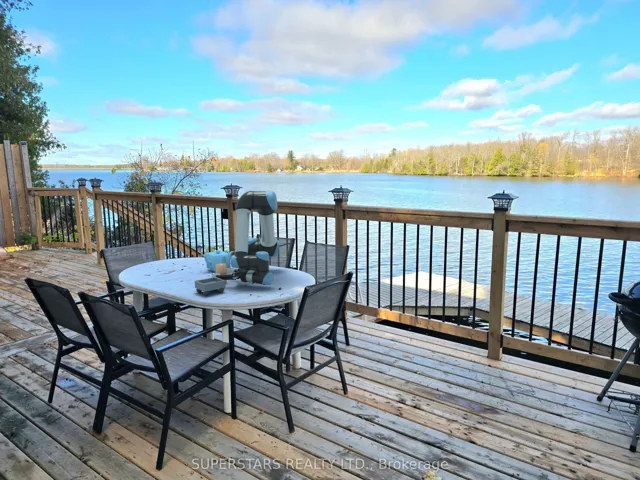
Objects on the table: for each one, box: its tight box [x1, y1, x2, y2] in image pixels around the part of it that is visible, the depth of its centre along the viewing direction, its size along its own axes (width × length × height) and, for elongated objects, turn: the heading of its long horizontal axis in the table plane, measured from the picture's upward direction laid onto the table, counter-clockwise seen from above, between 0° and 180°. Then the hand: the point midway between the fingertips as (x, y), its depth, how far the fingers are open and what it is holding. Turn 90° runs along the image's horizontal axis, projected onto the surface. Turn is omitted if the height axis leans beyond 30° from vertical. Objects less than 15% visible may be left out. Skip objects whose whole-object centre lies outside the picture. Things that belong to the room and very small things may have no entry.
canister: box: [215, 263, 228, 285], centre depth 246 cm, size 6×6×12 cm
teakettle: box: [201, 249, 235, 274], centre depth 276 cm, size 19×19×15 cm
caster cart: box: [194, 276, 226, 297], centre depth 226 cm, size 13×11×7 cm
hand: (219, 272), depth 246 cm, fingers open, 13 cm apart
